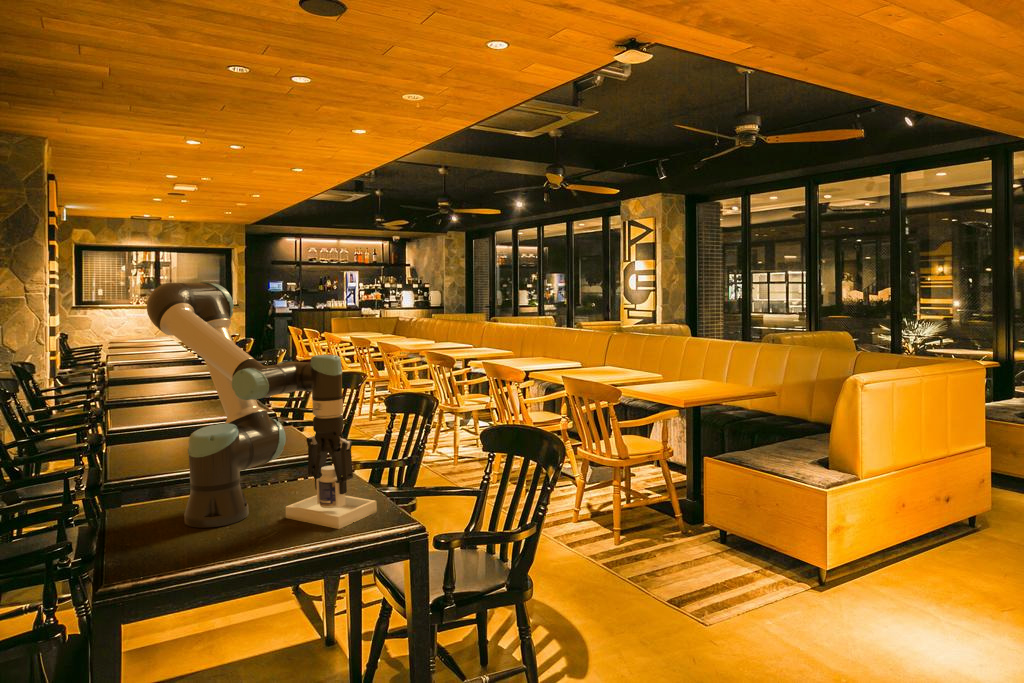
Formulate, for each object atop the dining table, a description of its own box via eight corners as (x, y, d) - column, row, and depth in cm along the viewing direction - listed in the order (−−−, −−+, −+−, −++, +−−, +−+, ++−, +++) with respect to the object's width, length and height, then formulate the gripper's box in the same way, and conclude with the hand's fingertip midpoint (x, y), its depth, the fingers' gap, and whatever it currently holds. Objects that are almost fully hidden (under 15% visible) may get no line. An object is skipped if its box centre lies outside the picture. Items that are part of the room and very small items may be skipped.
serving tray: (285, 518, 174) (285, 506, 174) (325, 502, 186) (324, 491, 186) (339, 529, 165) (338, 516, 165) (376, 512, 177) (376, 500, 177)
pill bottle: (336, 509, 172) (335, 470, 171) (315, 508, 173) (314, 469, 172) (346, 502, 178) (345, 464, 177) (326, 501, 179) (325, 464, 178)
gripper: (290, 415, 175) (294, 503, 177) (345, 421, 166) (348, 513, 168) (312, 410, 181) (315, 495, 183) (366, 415, 172) (369, 505, 174)
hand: (331, 504), depth 175 cm, fingers closed on pill bottle, 6 cm apart
